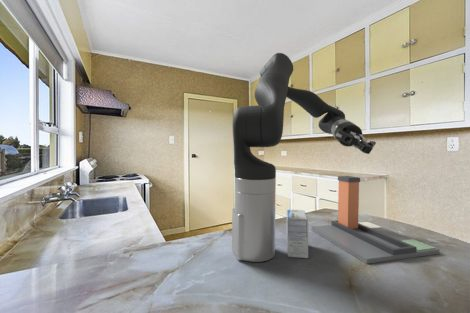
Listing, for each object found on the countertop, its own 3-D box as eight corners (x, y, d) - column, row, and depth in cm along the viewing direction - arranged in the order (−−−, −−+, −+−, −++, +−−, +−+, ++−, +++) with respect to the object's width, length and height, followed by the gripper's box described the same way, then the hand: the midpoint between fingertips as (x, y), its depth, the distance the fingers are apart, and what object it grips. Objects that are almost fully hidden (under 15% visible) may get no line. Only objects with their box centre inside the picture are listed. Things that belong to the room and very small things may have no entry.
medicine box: (308, 259, 48) (309, 219, 47) (287, 257, 48) (287, 218, 48) (304, 244, 55) (304, 209, 55) (286, 242, 56) (286, 208, 56)
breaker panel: (366, 263, 46) (366, 253, 46) (311, 229, 65) (311, 222, 65) (439, 253, 50) (439, 244, 50) (367, 224, 70) (367, 217, 70)
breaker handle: (347, 229, 62) (348, 178, 62) (336, 224, 66) (337, 176, 66) (359, 228, 63) (360, 177, 62) (347, 223, 67) (348, 175, 67)
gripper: (358, 147, 78) (383, 169, 62) (322, 136, 78) (338, 155, 62) (369, 127, 75) (398, 145, 59) (332, 116, 75) (351, 130, 59)
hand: (367, 150), depth 61 cm, fingers closed
